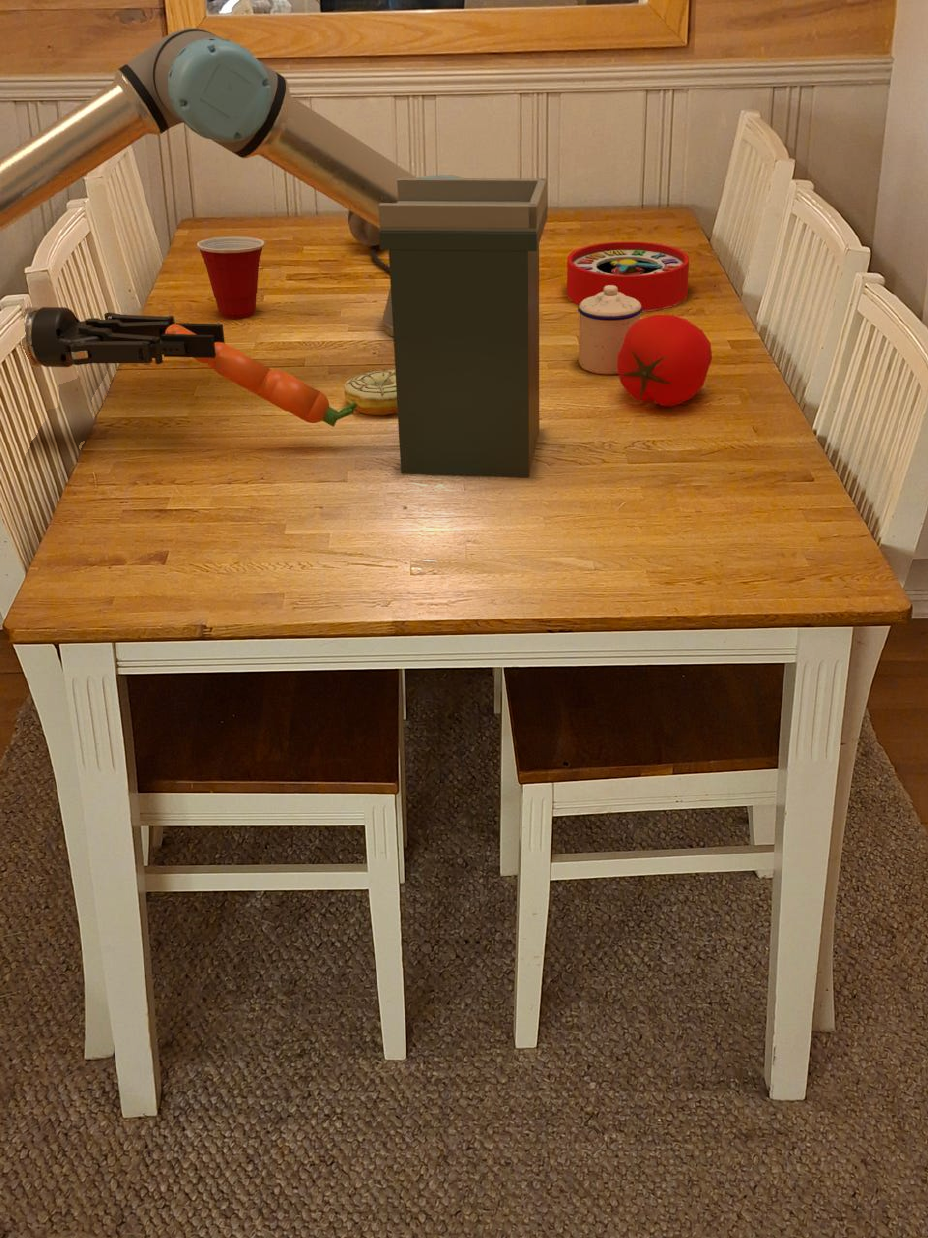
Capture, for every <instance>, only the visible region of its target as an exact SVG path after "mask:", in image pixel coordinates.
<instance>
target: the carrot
mask: <svg viewBox="0 0 928 1238" xmlns="http://www.w3.org/2000/svg"><path fill="white" fill-rule="evenodd" d="M165 334H193V335H197V334H195V333H193V332H191V331H190V330H188V329H186V328H184V327H182V326H181V325H177V324H174V325H171V326H169V327H168V328H167V329H166V331H165ZM214 344H215V353H216V356H215V357H214V358H202V357H191V358H192V359H194V360H196V361H198V362H200V363H202V364H206V365H207V366H208V367H209V368H210V369H212V370H214V372H216V374H218V375H220V376H222V377H223V378H226V379H227V380H229V381H231V382H232V383H234V384H236V385H238V386H240V387H242V388H243V389H245V390H247V391H248V392H250V393H252V394H254V395H255V396H258V397H259V398H261V399H263V400H265V401H267V402H268V403H270V404H272V405H274V406H275V407H277V408H279V409H281V410H282V411H285V412H288V413H290V414H292V415H293V416H294V417H297V418H299V419H300V420H302V421H304V422H306V423H310V424H316V423H317V424H318V423H320V422H324V423H326V424H327V425H329V426H331V427H333V428H334V427H335V425H336V423H337V421H338V420H340V419H343V418H345V417H348V416H350V415H353V413H354V410H355V409H354V408H355V407H356V406H357V404H356V403H355V402H353V403H351V404H348V405H347V406H345V407H343V408H342V409H340V411H338V410H336V409H334V408H333V407H331V406H330V402H329V399H328V397H327V396H326V395H325V394H324V393H323V392H322V391H320V390H318V389H316V388H314V387H313V386H311V385H310V384H307V383H305V382H304V381H302V380H300V379H298V378H296V377H295V376H294V375H291V374H289V373H288V372H286V371H284V370H281V369H272V368H269V367H268V366H266V365H265V364H263V363H260V362H259V361H257V360H256V359H254V358H252V357H250V356H249V355H247V354H245V353H243V352H241V351H240V350H238V349H236V348H234V347H232V346H230V345H229V344H227V343H226V342H225V343H222V342H215V343H214Z"/></svg>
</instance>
